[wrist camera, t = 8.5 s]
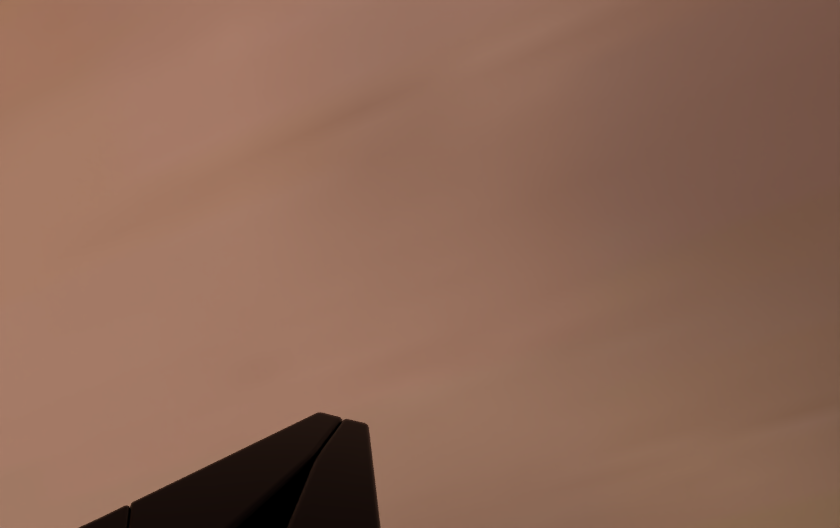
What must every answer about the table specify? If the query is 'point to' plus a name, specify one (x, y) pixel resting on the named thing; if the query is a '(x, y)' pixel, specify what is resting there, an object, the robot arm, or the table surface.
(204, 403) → the table surface
